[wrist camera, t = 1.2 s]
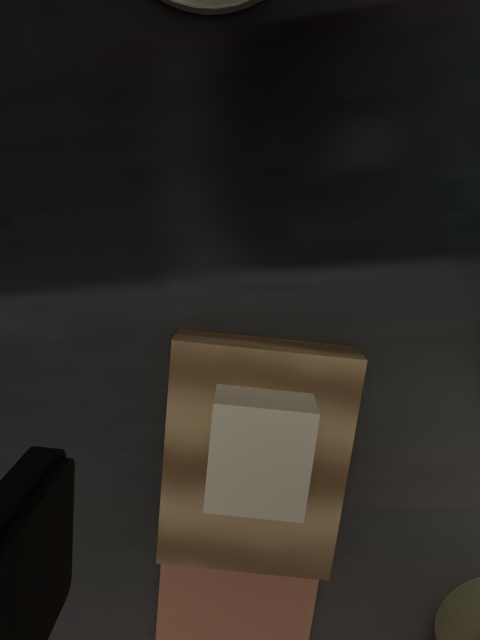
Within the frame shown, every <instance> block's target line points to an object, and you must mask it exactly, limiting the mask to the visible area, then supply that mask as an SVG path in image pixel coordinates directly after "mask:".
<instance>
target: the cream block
mask: <svg viewBox="0 0 480 640" xmlns="http://www.w3.org/2000/svg"><path fill="white" fill-rule="evenodd" d="M319 420H320V412H319V409H318V406H317V403H316V401H315V398H314V395H313V394H311V393H302V392H292V391H282V390H272V389H263V388H253V387H243V386H233V385H224V384H217V386H216V391H215V397H214V402H213V411H212V422H211V432H210V443H209V453H208V464H207V475H206V485H205V496H204V506H203V513H207V514H216V515H226V516H236V517H246V518H256V519H266V520H276V521H285V522H295V523H304V518H305V512H306V505H307V499H308V492H309V486H310V479H311V473H312V466H313V460H314V453H315V446H316V440H317V433H318V427H319Z"/></svg>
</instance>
